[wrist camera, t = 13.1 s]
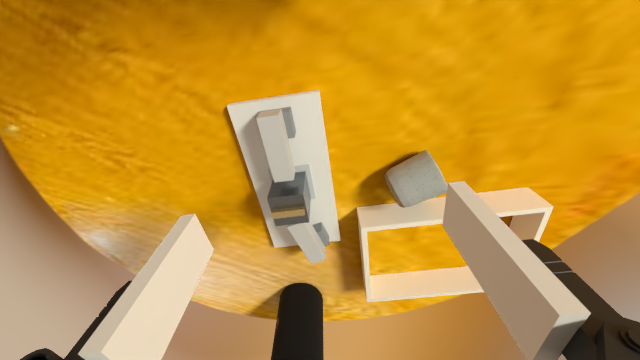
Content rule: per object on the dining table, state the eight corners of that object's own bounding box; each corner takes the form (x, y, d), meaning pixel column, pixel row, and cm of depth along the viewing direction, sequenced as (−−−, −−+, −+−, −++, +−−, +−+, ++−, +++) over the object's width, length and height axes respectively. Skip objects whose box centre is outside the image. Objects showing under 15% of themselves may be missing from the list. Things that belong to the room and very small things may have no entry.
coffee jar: (273, 286, 61) (258, 372, 46) (314, 277, 60) (312, 363, 44) (290, 310, 67) (281, 394, 51) (328, 302, 65) (330, 386, 49)
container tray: (356, 207, 49) (360, 228, 44) (527, 187, 46) (553, 206, 41) (363, 279, 60) (367, 302, 55) (500, 265, 58) (518, 288, 52)
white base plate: (229, 103, 38) (212, 116, 32) (319, 89, 37) (318, 100, 31) (275, 242, 54) (270, 269, 48) (340, 235, 53) (342, 261, 47)
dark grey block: (281, 200, 46) (274, 229, 39) (274, 175, 43) (265, 201, 36) (310, 197, 45) (309, 225, 39) (305, 171, 43) (302, 197, 36)
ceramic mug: (377, 166, 44) (388, 190, 38) (421, 142, 42) (440, 163, 35) (402, 205, 49) (415, 232, 42) (442, 185, 46) (463, 211, 40)
